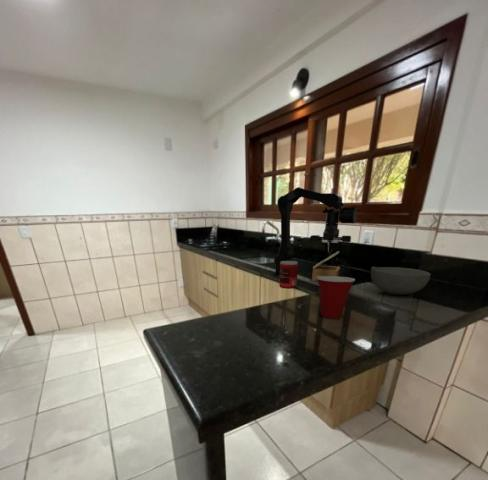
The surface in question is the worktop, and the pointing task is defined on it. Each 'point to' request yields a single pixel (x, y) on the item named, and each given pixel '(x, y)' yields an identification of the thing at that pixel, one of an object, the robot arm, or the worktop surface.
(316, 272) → the chest
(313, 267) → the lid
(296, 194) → the robot arm
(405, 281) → the bowl
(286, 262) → the canned food
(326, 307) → the plastic cup
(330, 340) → the worktop surface
